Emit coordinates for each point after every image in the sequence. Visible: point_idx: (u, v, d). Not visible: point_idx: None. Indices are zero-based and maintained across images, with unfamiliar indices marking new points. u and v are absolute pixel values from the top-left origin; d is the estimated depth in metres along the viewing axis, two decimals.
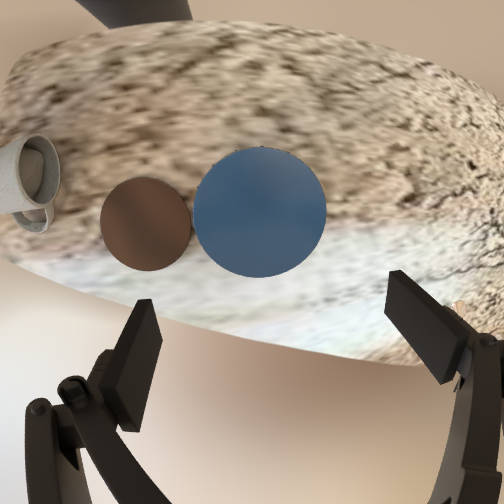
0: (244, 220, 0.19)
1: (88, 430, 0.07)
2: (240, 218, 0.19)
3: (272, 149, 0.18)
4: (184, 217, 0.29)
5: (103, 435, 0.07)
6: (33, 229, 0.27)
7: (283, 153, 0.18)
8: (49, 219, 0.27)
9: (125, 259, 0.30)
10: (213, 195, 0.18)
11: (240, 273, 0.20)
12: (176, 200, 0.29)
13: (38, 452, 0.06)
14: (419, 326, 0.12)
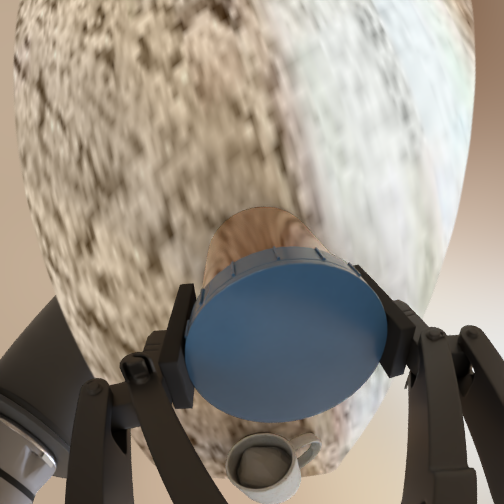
0: (301, 376, 0.12)
1: (145, 407, 0.08)
2: (298, 380, 0.12)
3: (187, 366, 0.11)
4: None
5: (160, 413, 0.08)
6: (317, 447, 0.30)
7: (188, 353, 0.11)
8: (308, 441, 0.28)
9: None
10: (269, 410, 0.13)
11: (378, 360, 0.12)
12: None
13: (87, 433, 0.07)
14: None
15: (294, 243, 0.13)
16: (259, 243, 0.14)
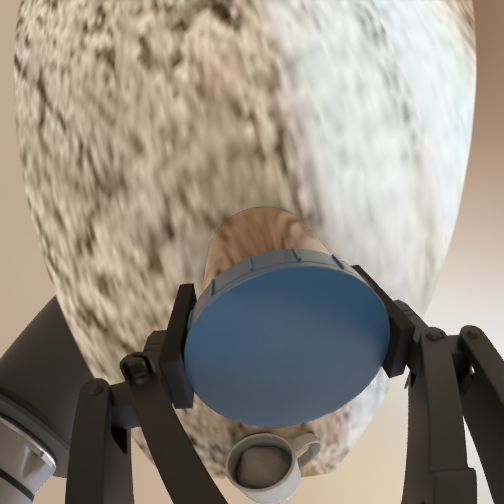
0: (318, 356, 0.11)
1: (145, 407, 0.08)
2: (324, 358, 0.11)
3: (273, 426, 0.13)
4: None
5: (160, 413, 0.08)
6: (317, 448, 0.30)
7: (259, 424, 0.13)
8: (308, 442, 0.28)
9: None
10: (355, 377, 0.12)
11: (336, 274, 0.10)
12: None
13: (87, 433, 0.07)
14: None
15: (294, 243, 0.13)
16: (259, 243, 0.14)
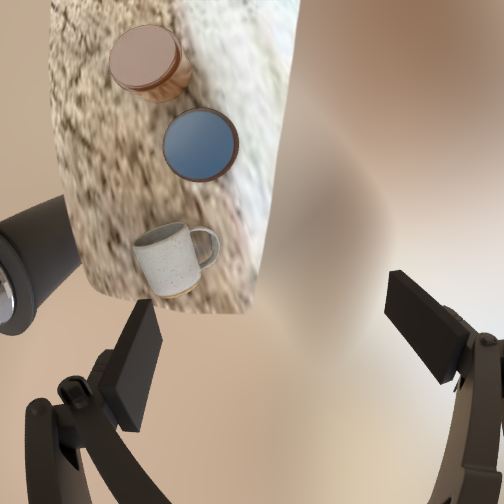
0: (206, 141, 0.35)
1: (88, 431, 0.07)
2: (209, 142, 0.35)
3: (194, 178, 0.37)
4: None
5: (103, 435, 0.07)
6: (216, 246, 0.41)
7: (189, 176, 0.37)
8: (202, 227, 0.39)
9: (231, 157, 0.38)
10: (223, 154, 0.36)
11: (208, 113, 0.34)
12: None
13: (38, 452, 0.06)
14: (419, 326, 0.12)
15: None
16: None
